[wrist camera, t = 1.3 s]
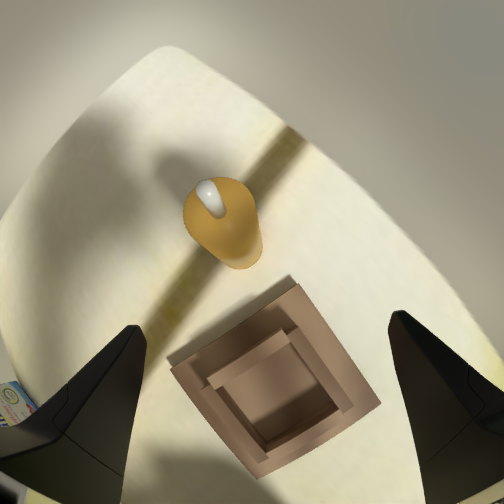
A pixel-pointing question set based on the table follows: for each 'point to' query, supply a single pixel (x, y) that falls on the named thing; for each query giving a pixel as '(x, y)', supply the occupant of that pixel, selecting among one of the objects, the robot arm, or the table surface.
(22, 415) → the medicine box
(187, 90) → the table surface
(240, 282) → the table surface
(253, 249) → the yellow cylindrical piece
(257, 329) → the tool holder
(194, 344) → the table surface
